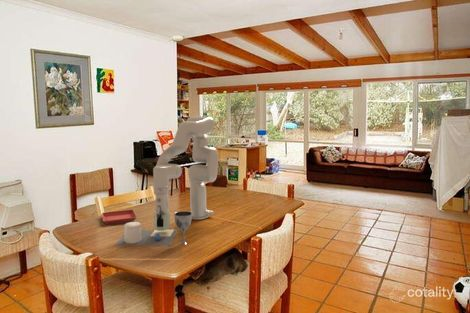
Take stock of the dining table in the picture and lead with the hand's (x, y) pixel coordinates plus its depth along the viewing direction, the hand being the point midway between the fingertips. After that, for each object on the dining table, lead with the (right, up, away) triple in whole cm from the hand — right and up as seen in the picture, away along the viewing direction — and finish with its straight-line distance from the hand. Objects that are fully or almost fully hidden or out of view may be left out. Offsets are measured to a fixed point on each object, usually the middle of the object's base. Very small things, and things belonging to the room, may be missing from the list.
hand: (162, 223), depth 169 cm
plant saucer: (-31, -3, +25) cm, 40 cm away
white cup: (-12, -6, -9) cm, 16 cm away
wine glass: (+13, -7, -12) cm, 19 cm away
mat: (-6, -6, -5) cm, 10 cm away
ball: (0, -5, -9) cm, 10 cm away
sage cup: (0, -2, 0) cm, 2 cm away
